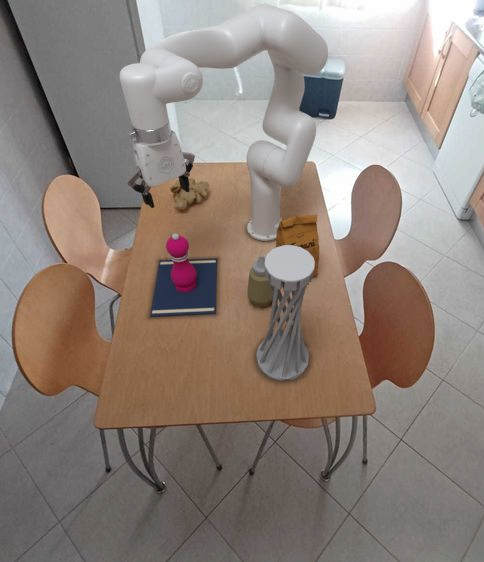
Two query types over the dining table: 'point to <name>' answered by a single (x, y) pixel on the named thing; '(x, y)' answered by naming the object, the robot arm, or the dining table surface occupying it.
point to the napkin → (192, 302)
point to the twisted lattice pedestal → (286, 313)
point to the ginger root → (189, 193)
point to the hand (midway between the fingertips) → (168, 197)
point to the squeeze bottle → (259, 284)
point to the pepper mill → (181, 264)
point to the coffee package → (300, 235)
